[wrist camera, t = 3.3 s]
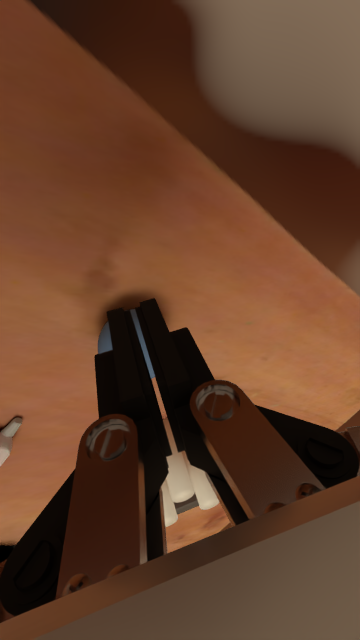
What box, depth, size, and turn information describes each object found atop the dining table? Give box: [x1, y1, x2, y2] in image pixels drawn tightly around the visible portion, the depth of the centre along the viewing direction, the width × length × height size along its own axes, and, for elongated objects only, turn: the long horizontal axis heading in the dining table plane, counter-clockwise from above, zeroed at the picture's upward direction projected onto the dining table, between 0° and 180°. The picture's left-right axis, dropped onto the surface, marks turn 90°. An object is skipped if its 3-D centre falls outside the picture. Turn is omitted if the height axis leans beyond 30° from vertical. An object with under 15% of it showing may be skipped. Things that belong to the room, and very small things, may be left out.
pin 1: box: [161, 479, 178, 527], centre depth 35 cm, size 2×2×8 cm
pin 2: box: [182, 450, 219, 510], centre depth 36 cm, size 2×2×8 cm
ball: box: [98, 309, 155, 379], centre depth 24 cm, size 6×6×6 cm
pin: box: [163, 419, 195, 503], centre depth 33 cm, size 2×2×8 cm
